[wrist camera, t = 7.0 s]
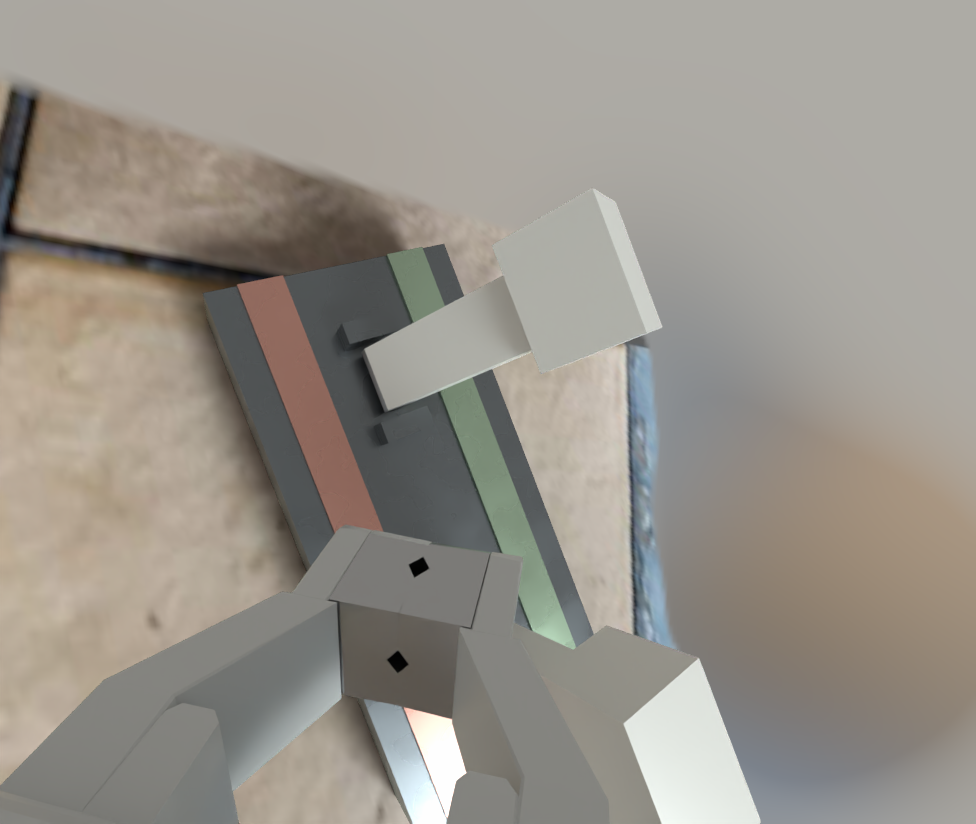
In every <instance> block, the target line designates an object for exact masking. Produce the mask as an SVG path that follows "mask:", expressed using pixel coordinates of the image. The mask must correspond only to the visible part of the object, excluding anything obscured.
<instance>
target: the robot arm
mask: <svg viewBox="0 0 976 824" xmlns="http://www.w3.org/2000/svg"><path fill="white" fill-rule="evenodd" d="M522 566H523V558H522V557H521V556H515V555H509V554H502V553H496V552H492V553H491V552H486V551H480V550H474V549H469V548H463V547H457V546H452V545H446V544H440V543H435V542H430V541H426V540H421V539H416V538H411V537H406V536H401V535H397V534H392V533H387V532H382V531H377V530H374V531H373V530H370V529H365V528H360V527H355V526H350V525H344V526H342V527H340V528H339V529H338V530H337V531H336V533H335V534H334V535H333V537H332V538H331V539H330V541H329V542H328V544H327V545H326V546H325V548H324V549H323V550H322V552H321V553H320V555H319V556H318V557H317V559H316V560H315V561H314V563H313V564H312V566H311V567H310V568H309V570H308V571H307V572H306V574H305V575H304V577H303V578H302V579H301V581H300V582H299V583H298V585H297V586H296V588H295V589H294V590H293V592H292V593H288V592H283V591H282V592H280V593H278V594H276V595H274V596H272V597H270V598H268V599H266V600H264V601H262V602H260V603H258V604H256V605H254V606H252V607H250V608H248V609H246V610H244V611H242V612H240V613H238V614H236V615H234V616H232V617H230V618H228V619H226V620H224V621H222V622H220V623H218V624H216V625H214V626H212V627H210V628H208V629H206V630H204V631H202V632H200V633H198V634H196V635H194V636H192V637H190V638H188V639H185V640H183V641H181V642H179V643H177V644H175V645H173V646H171V647H169V648H167V649H165V650H163V651H161V652H159V653H157V654H155V655H153V656H151V657H149V658H147V659H145V660H143V661H141V662H139V663H137V664H135V665H133V666H131V667H129V668H127V669H125V670H123V671H121V672H119V673H117V674H115V675H113V676H111V677H109V678H107V679H105V680H103V681H102V683H101V684H100V685H99V686H98V687H97V688H96V689H95V690H94V691H93V692H92V693H91V694H90V695H89V696H88V697H87V698H86V699H85V700H84V701H83V702H82V703H81V704H80V705H79V706H78V707H77V708H76V709H75V710H74V711H73V712H72V713H71V714H70V715H69V716H68V717H67V718H66V719H65V720H64V721H63V722H62V723H61V724H60V725H59V726H58V727H57V728H56V729H55V730H54V731H53V732H52V733H51V734H50V735H49V736H48V738H47V739H46V740H45V741H44V742H43V743H42V744H41V745H40V746H39V747H38V748H37V749H36V750H35V751H34V752H33V753H32V754H31V755H30V756H29V757H28V758H27V759H26V760H25V761H24V762H23V763H22V764H21V765H20V766H19V767H18V768H17V769H16V770H15V771H14V772H13V773H12V774H11V775H10V776H9V777H8V778H7V779H6V780H5V781H4V782H3V783H2V784H1V785H0V824H239V820H238V815H237V810H236V805H235V800H234V795H233V791H234V790H235V789H236V788H238V787H239V786H240V785H241V784H242V783H243V782H245V781H246V780H247V779H248V778H249V777H250V776H252V775H253V774H254V773H255V772H256V771H257V770H259V769H260V768H261V767H262V766H263V765H264V764H266V763H267V762H268V761H269V760H270V759H271V758H273V757H274V756H275V755H276V754H277V753H278V752H280V751H281V750H282V749H283V748H284V747H285V746H287V745H288V744H289V743H290V742H291V741H292V740H294V739H295V738H296V737H297V736H298V735H299V734H301V733H302V732H303V731H304V730H305V729H306V728H308V727H309V726H310V725H311V724H312V723H313V722H315V721H316V720H317V719H318V718H319V717H320V716H322V715H323V714H324V713H325V712H326V711H327V710H329V709H330V708H331V707H332V706H333V705H334V704H336V703H337V702H338V701H339V700H340V699H341V695H346V696H351V697H356V698H361V699H367V700H372V701H377V702H382V703H387V704H393V705H397V706H401V707H405V708H409V709H413V710H417V711H421V712H425V713H429V714H433V715H436V716H440V717H444V718H448V719H452V725H453V729H454V732H455V736H456V739H457V743H458V746H459V750H460V754H461V757H462V761H463V764H464V768H465V771H466V773H465V774H464V775H462V776H461V777H460V778H458V779H457V780H456V782H455V787H454V791H453V795H452V800H451V804H450V808H449V813H448V817H447V821H446V824H610V820H609V800H608V798H607V797H606V795H605V793H604V791H603V789H602V787H601V786H600V784H599V782H598V780H597V778H596V776H595V775H594V773H593V771H592V769H591V767H590V765H589V764H588V762H587V760H586V758H585V756H584V754H583V753H582V751H581V749H580V747H579V745H578V743H577V742H576V740H575V738H574V736H573V734H572V733H571V731H570V729H569V727H568V725H567V723H566V722H565V720H564V718H563V716H562V714H561V712H560V711H559V709H558V707H557V705H556V703H555V701H554V700H553V698H552V696H551V694H550V692H549V690H548V689H547V687H546V685H545V683H544V681H543V679H542V678H541V676H540V674H539V672H538V670H537V668H536V667H535V665H534V663H533V661H532V659H531V658H530V656H529V654H528V652H527V650H526V648H525V647H524V645H523V643H522V641H521V640H520V639H515V638H512V634H513V627H514V620H515V613H516V607H517V600H518V593H519V586H520V579H521V572H522Z"/></svg>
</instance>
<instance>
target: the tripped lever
mask: <svg viewBox="0 0 976 824" xmlns="http://www.w3.org/2000/svg"><path fill="white" fill-rule="evenodd" d="M512 638H515V639H520V640H521V641H522V643H523V645H524V647H525V648H526V650H527V652H528V654H529V656H530V658H531V659H532V661H533V663H534V665H535V667H536V668H537V670H538V672H539V674H540V676H541V678H542V679H543V681H544V683H545V685H546V687H547V689H548V690H549V692H550V694H551V696H552V698H553V700H554V701H555V703H556V705H557V707H558V709H559V711H560V712H561V714H562V716H563V718H564V720H565V722H566V723H567V725H568V727H569V729H570V731H571V733H572V734H573V736H574V738H575V740H576V742H577V743H578V745H579V747H580V749H581V751H582V753H583V754H584V756H585V758H586V760H587V762H588V764H589V765H590V767H591V769H592V771H593V773H594V775H595V776H596V778H597V780H598V782H599V784H600V786H601V787H602V789H603V791H604V793H605V795H606V797H607V798H608V800H609V820H610V824H760V823H761V821H760V818H759V815H758V813H757V810H756V807H755V805H754V802H753V799H752V797H751V794H750V792H749V789H748V786H747V784H746V781H745V778H744V776H743V773H742V770H741V768H740V765H739V763H738V760H737V757H736V755H735V752H734V749H733V747H732V744H731V741H730V739H729V736H728V733H727V731H726V728H725V726H724V723H723V720H722V718H721V715H720V712H719V710H718V707H717V704H716V702H715V699H714V697H713V694H712V691H711V689H710V686H709V683H708V681H707V678H706V675H705V673H704V670H703V667H702V665H701V662H700V659H699V658H697V657H695V656H692V655H689V654H686V653H683V652H680V651H678V650H675V649H672V648H669V647H666V646H663V645H661V644H658V643H655V642H652V641H649V640H646V639H644V638H641V637H638V636H635V635H632V634H629V633H626V632H624V631H621V630H618V629H615V628H612V627H609V626H607V625H606V626H605V627H604V628H602V629H601V630H600V631H598V632H597V633H595V634H594V635H593V636H591V637H590V638H589V639H587V640H586V641H585V642H583V643H582V644H580V645H579V646H578V647H576V648H575V649H574V650H573V649H570V648H568V647H566V646H564V645H562V644H560V643H557V642H555V641H553V640H551V639H549V638H547V637H544V636H542V635H540V634H538V633H536V632H534V631H531V630H529V629H527V628H525V627H523V626H520V625H518V624H516V623H514V627H513V634H512Z"/></svg>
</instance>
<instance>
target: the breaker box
mask: <svg viewBox="0 0 976 824" xmlns="http://www.w3.org/2000/svg"><path fill="white" fill-rule="evenodd" d="M463 296H464V295H463V292H462V290H461V287H460V284H459V282H458V279H457V277H456V274H455V271H454V269H453V266H452V264H451V261H450V258H449V256H448V253H447V251H446V248H445V245H444V244H441V245H436V246H432V247H427V248H422V247H420V248H415V249H410V250H405V251H400V252H395V253H390V254H387V255H386V256H383V257H378V258H373V259H368V260H363V261H358V262H353V263H348V264H343V265H338V266H334V267H329V268H324V269H319V270H314V271H309V272H304V273H299V274H294V275H289V276H285V277H283V275H282V276H277V277H272V278H267V279H262V280H257V281H252V282H247V283H242V284H237V286H236V287H231V288H226V289H221V290H216V291H211V292H206V293H203V298H204V304H205V310H206V315H207V321H208V324H209V326H210V329H211V331H212V334H213V336H214V339H215V342H216V344H217V347H218V349H219V352H220V354H221V357H222V359H223V362H224V364H225V367H226V369H227V372H228V374H229V377H230V379H231V382H232V384H233V387H234V389H235V392H236V394H237V397H238V399H239V402H240V405H241V407H242V410H243V412H244V415H245V417H246V420H247V422H248V425H249V427H250V430H251V432H252V435H253V437H254V440H255V442H256V445H257V447H258V450H259V452H260V455H261V457H262V460H263V463H264V465H265V468H266V470H267V473H268V475H269V478H270V480H271V483H272V485H273V488H274V490H275V493H276V495H277V498H278V500H279V503H280V505H281V508H282V510H283V513H284V515H285V518H286V521H287V523H288V526H289V528H290V531H291V533H292V536H293V538H294V541H295V543H296V546H297V548H298V551H299V553H300V556H301V558H302V561H303V563H304V566H305V568H306V571H308V570H309V568H310V567H311V566H312V564H313V563H314V561H315V560H316V559H317V557H318V556H319V555H320V553H321V552H322V550H323V549H324V548H325V546H326V545H327V544H328V542H329V541H330V539H331V538H332V537H333V535H334V534H335V533H336V531H337V530H338V529H339V528H340V527H342V526H344V525H350V526H355V527H360V528H365V529H370V530H373V531H374V530H377V531H382V532H387V533H392V534H397V535H401V536H406V537H411V538H416V539H421V540H426V541H430V542H435V543H440V544H446V545H452V546H457V547H463V548H469V549H474V550H480V551H486V552H491V553H492V552H496V553H502V554H509V555H515V556H521V557H522V558H523V566H522V572H521V579H520V586H519V593H518V600H517V607H516V613H515V620H514V623H516V624H518V625H520V626H523V627H525V628H527V629H529V630H531V631H534V632H536V633H538V634H540V635H542V636H544V637H547V638H549V639H551V640H553V641H555V642H557V643H560V644H562V645H564V646H566V647H568V648H570V649H573V650H574V649H575V648H576V647H578V646H579V645H580V644H582V643H583V642H585V641H586V640H587V639H589V638H590V637H591V636H593V635H594V634H593V631H592V628H591V626H590V623H589V621H588V618H587V615H586V613H585V610H584V608H583V605H582V602H581V600H580V597H579V595H578V592H577V589H576V587H575V584H574V582H573V579H572V576H571V574H570V571H569V569H568V566H567V563H566V561H565V558H564V556H563V553H562V550H561V548H560V545H559V542H558V540H557V537H556V535H555V532H554V529H553V527H552V524H551V522H550V519H549V516H548V514H547V511H546V509H545V506H544V503H543V501H542V498H541V496H540V493H539V490H538V488H537V485H536V483H535V480H534V477H533V475H532V472H531V469H530V467H529V464H528V462H527V459H526V456H525V454H524V451H523V449H522V446H521V443H520V441H519V438H518V436H517V433H516V430H515V428H514V425H513V423H512V420H511V417H510V415H509V412H508V410H507V407H506V404H505V402H504V399H503V397H502V394H501V391H500V389H499V386H498V383H497V381H496V378H495V376H494V373H493V370H492V369H491V370H488V371H486V372H484V373H481V374H479V375H477V376H474V377H472V378H469V379H467V380H465V381H462V382H460V383H458V384H455V385H453V386H450V387H448V388H446V389H443V390H441V391H439V392H436V393H434V394H431V395H429V396H427V397H424V398H422V399H419V400H417V401H415V402H412V403H410V404H407V405H405V406H402V407H400V408H397V409H394V410H391V411H388V412H384V409H383V406H382V404H381V401H380V399H379V396H378V394H377V391H376V388H375V386H374V383H373V381H372V378H371V376H370V373H369V371H368V368H367V365H366V363H365V360H364V358H363V355H362V353H361V352H362V351H363V350H364V349H365V348H367V347H369V346H371V345H373V344H374V343H376V342H378V341H380V340H382V339H384V338H386V337H388V336H390V335H391V334H393V333H395V332H397V331H399V330H401V329H403V328H405V327H407V326H408V325H410V324H412V323H414V322H416V321H418V320H420V319H422V318H424V317H426V316H427V315H429V314H431V313H433V312H435V311H437V310H439V309H441V308H443V307H444V306H446V305H448V304H450V303H452V302H454V301H456V300H458V299H460V298H461V297H463ZM357 700H358V702H359V705H360V707H361V710H362V712H363V715H364V717H365V720H366V722H367V725H368V727H369V730H370V732H371V735H372V737H373V740H374V742H375V745H376V747H377V750H378V752H379V755H380V758H381V760H382V763H383V765H384V768H385V770H386V773H387V775H388V778H389V780H390V783H391V785H392V788H393V790H394V793H395V795H396V798H397V800H398V802H399V804H400V805H401V807H402V809H403V811H404V813H405V815H406V817H407V819H408V821H409V823H410V824H446V821H447V817H448V813H449V808H450V804H451V800H452V795H453V791H454V787H455V782H456V780H457V779H458V778H460V777H461V776H462V775H464V774H465V773H466V771H465V768H464V764H463V761H462V757H461V754H460V750H459V746H458V743H457V739H456V736H455V732H454V729H453V725H452V719H448V718H444V717H440V716H436V715H433V714H429V713H425V712H421V711H417V710H413V709H409V708H405V707H401V706H397V705H393V704H387V703H382V702H377V701H372V700H367V699H361V698H357Z"/></svg>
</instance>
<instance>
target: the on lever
mask: <svg viewBox="0 0 976 824" xmlns="http://www.w3.org/2000/svg"><path fill="white" fill-rule="evenodd" d="M492 247H493V250H494V253H495V255H496V258H497V260H498V263H499V266H500V268H501V271H502V274H503V276H501V277H499V278H497V279H496V280H494V281H492V282H490V283H488V284H486V285H484V286H482V287H480V288H479V289H477V290H475V291H473V292H471V293H469V294H467V295H465V296H463V297H461V298H460V299H458V300H456V301H454V302H452V303H450V304H448V305H446V306H444V307H443V308H441V309H439V310H437V311H435V312H433V313H431V314H429V315H427V316H426V317H424V318H422V319H420V320H418V321H416V322H414V323H412V324H410V325H408V326H407V327H405V328H403V329H401V330H399V331H397V332H395V333H393V334H391V335H390V336H388V337H386V338H384V339H382V340H380V341H378V342H376V343H374V344H373V345H371V346H369V347H367V348H365V349H364V350H363V351H362V352H361V353H362V355H363V358H364V360H365V363H366V365H367V368H368V371H369V373H370V376H371V378H372V381H373V383H374V386H375V388H376V391H377V394H378V396H379V399H380V401H381V404H382V406H383V409H384V412H388V411H391V410H394V409H397V408H400V407H402V406H405V405H407V404H410V403H412V402H415V401H417V400H419V399H422V398H424V397H427V396H429V395H431V394H434V393H436V392H439V391H441V390H443V389H446V388H448V387H450V386H453V385H455V384H458V383H460V382H462V381H465V380H467V379H469V378H472V377H474V376H477V375H479V374H481V373H484V372H486V371H488V370H491V369H493V368H496V367H498V366H500V365H503V364H505V363H508V362H510V361H512V360H515V359H517V358H519V357H522V356H524V355H527V354H529V353H531V352H533V355H534V357H535V360H536V363H537V365H538V368H539V371H540V373H541V374H543V373H545V372H548V371H551V370H554V369H556V368H559V367H562V366H565V365H567V364H570V363H573V362H575V361H578V360H580V359H583V358H585V357H588V356H591V355H593V354H596V353H598V352H601V351H603V350H606V349H609V348H611V347H614V346H616V345H619V344H621V343H624V342H627V341H629V340H632V339H634V338H637V337H639V336H642V335H644V334H647V333H650V332H652V331H655V330H657V329H660V328H662V325H661V322H660V319H659V317H658V314H657V311H656V309H655V306H654V303H653V300H652V298H651V295H650V292H649V290H648V287H647V285H646V282H645V279H644V276H643V274H642V271H641V269H640V266H639V263H638V260H637V258H636V255H635V252H634V250H633V247H632V244H631V242H630V239H629V236H628V234H627V231H626V228H625V226H624V223H623V221H622V218H621V215H620V213H619V210H618V207H617V204H616V202H615V201H613V200H611V199H610V198H608V197H607V196H605V195H603V194H602V193H600V192H598V191H597V190H595V189H593V188H591V189H589V190H588V191H586V192H584V193H582V194H581V195H579V196H577V197H575V198H574V199H572V200H570V201H568V202H567V203H565V204H563V205H561V206H560V207H558V208H556V209H554V210H553V211H551V212H549V213H547V214H546V215H544V216H542V217H540V218H539V219H537V220H535V221H534V222H532V223H530V224H529V225H526V226H525V227H523V228H521V229H519V230H518V231H516V232H514V233H512V234H511V235H509V236H507V237H505V238H504V239H502V240H500V241H498V242H497V243H495V244H493V245H492Z"/></svg>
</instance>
